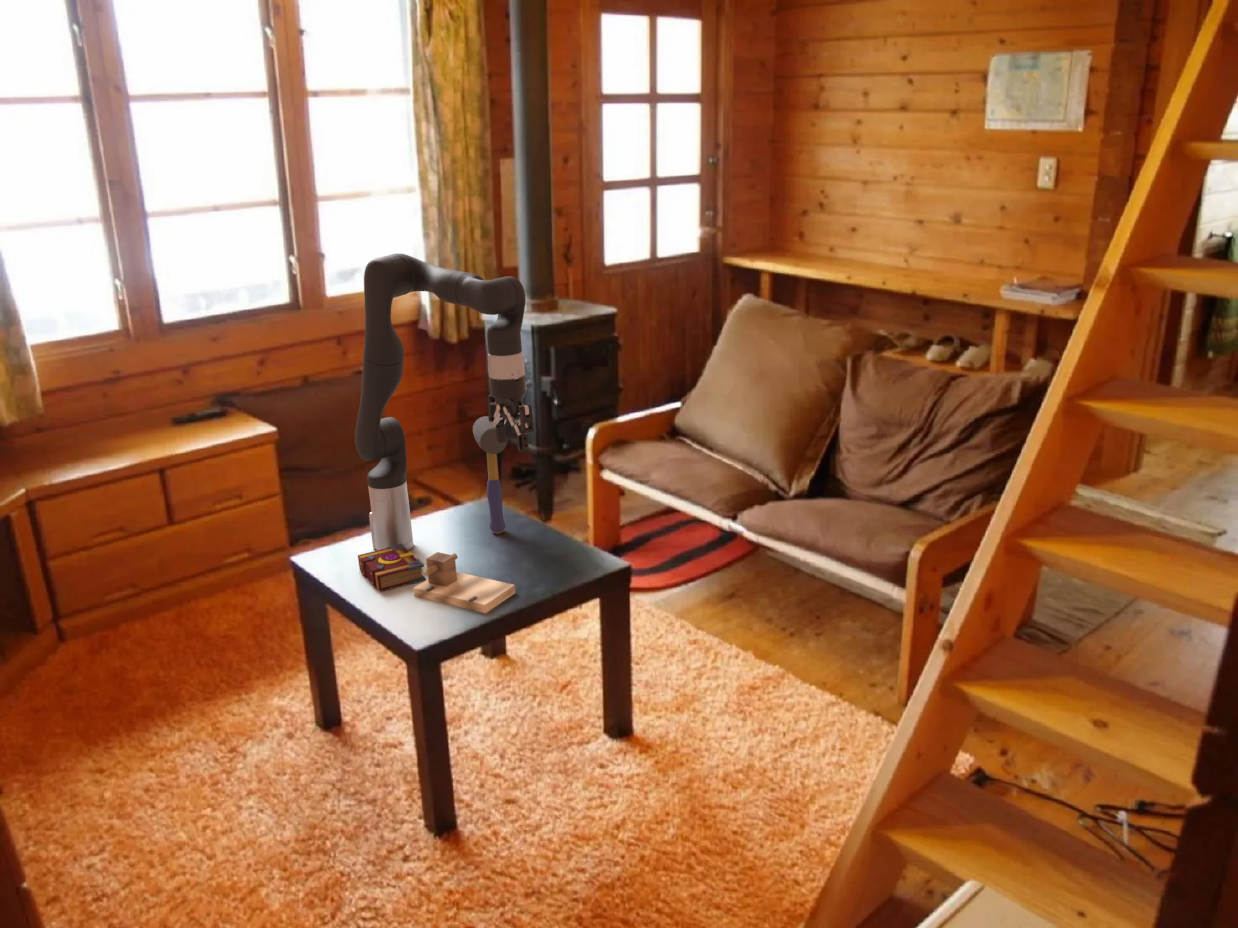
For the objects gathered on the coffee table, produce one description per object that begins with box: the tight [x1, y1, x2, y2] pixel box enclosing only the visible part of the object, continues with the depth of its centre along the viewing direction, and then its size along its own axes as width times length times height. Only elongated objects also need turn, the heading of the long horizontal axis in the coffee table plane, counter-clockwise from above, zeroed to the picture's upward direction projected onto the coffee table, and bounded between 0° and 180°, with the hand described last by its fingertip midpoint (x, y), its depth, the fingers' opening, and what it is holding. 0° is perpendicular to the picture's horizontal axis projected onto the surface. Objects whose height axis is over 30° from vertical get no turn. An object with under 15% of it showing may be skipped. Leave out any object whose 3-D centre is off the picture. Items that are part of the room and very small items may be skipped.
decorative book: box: [357, 544, 427, 592], centre depth 246 cm, size 11×16×5 cm
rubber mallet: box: [472, 415, 508, 534], centre depth 264 cm, size 12×8×30 cm, turn 17°
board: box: [412, 571, 516, 614], centre depth 234 cm, size 20×11×2 cm, turn 60°
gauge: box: [424, 551, 458, 587], centre depth 236 cm, size 5×10×6 cm, turn 150°
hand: (512, 446), depth 225 cm, fingers open, 8 cm apart
